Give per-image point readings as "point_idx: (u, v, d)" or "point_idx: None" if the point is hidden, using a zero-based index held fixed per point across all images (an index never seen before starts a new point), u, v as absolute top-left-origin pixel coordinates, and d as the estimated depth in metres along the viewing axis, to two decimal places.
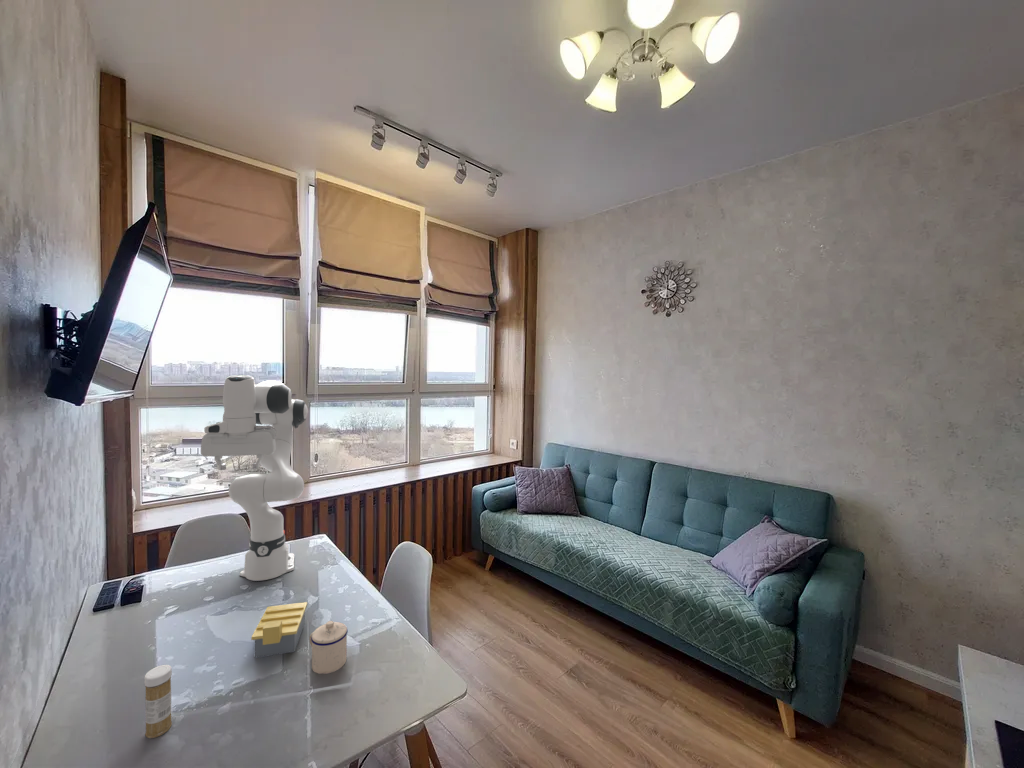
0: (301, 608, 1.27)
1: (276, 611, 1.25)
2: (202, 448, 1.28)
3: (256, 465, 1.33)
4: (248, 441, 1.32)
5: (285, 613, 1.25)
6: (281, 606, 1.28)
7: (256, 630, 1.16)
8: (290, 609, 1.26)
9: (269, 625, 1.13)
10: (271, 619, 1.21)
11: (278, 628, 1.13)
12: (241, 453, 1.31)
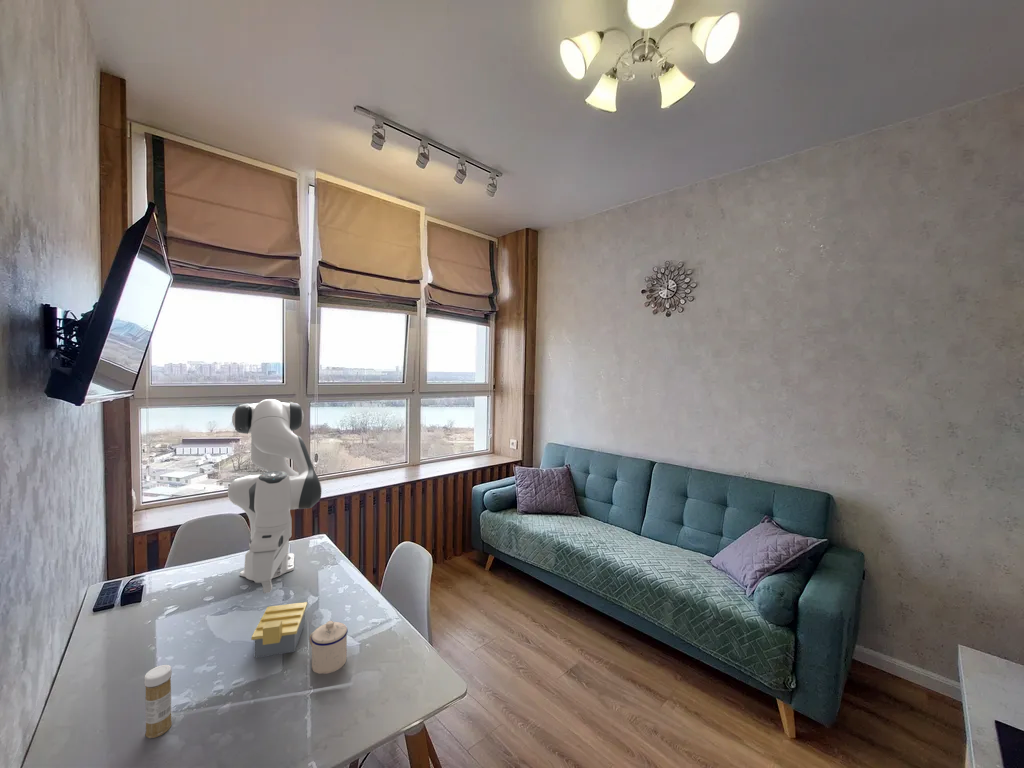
0: (301, 608, 1.27)
1: (276, 611, 1.25)
2: (271, 571, 1.05)
3: (281, 569, 1.18)
4: (282, 544, 1.16)
5: (285, 613, 1.25)
6: (281, 606, 1.28)
7: (256, 630, 1.16)
8: (290, 609, 1.26)
9: (269, 625, 1.13)
10: (271, 619, 1.21)
11: (278, 628, 1.13)
12: (281, 561, 1.14)
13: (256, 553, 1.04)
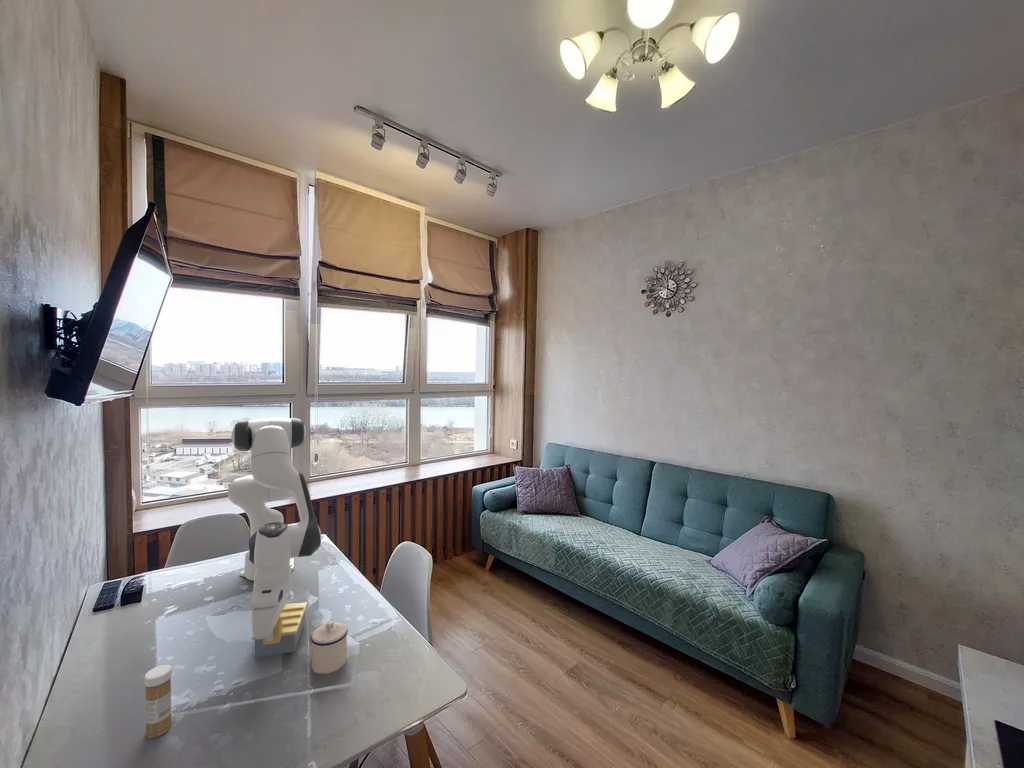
0: (301, 608, 1.27)
1: None
2: (271, 627, 1.05)
3: None
4: None
5: (285, 613, 1.25)
6: None
7: None
8: (290, 609, 1.26)
9: None
10: None
11: (278, 628, 1.13)
12: None
13: (256, 609, 1.05)
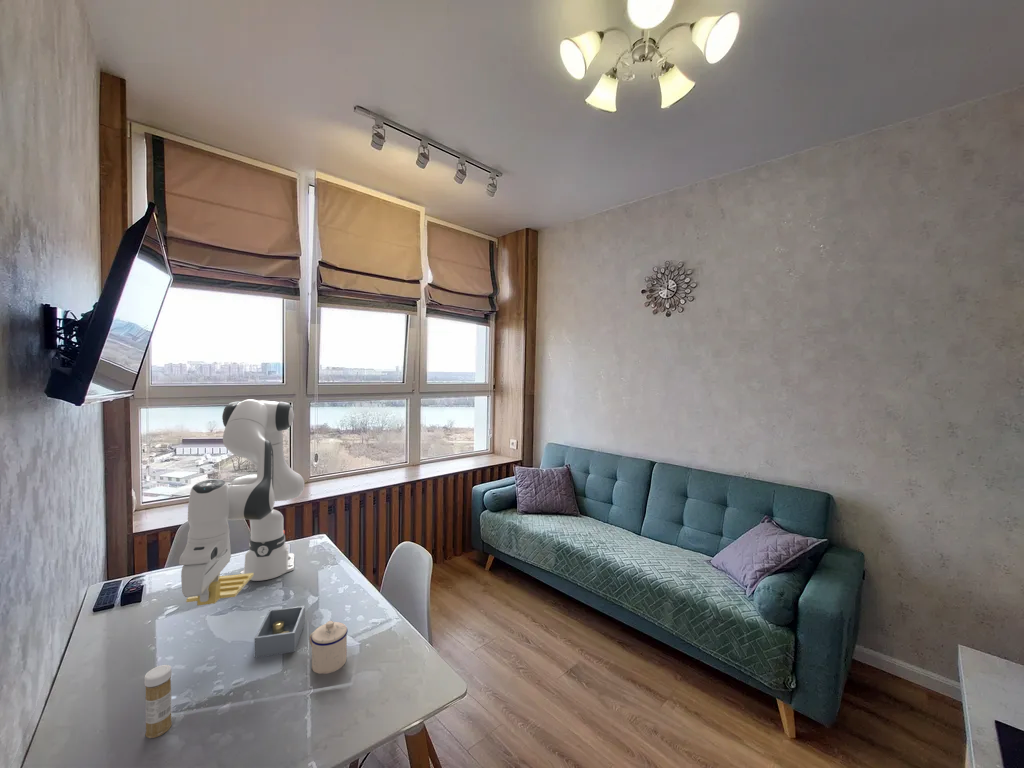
0: (245, 577, 1.23)
1: None
2: (202, 585, 1.01)
3: None
4: None
5: (228, 581, 1.20)
6: (225, 576, 1.24)
7: None
8: (233, 578, 1.22)
9: None
10: None
11: (214, 587, 1.08)
12: (218, 572, 1.10)
13: (186, 566, 1.00)
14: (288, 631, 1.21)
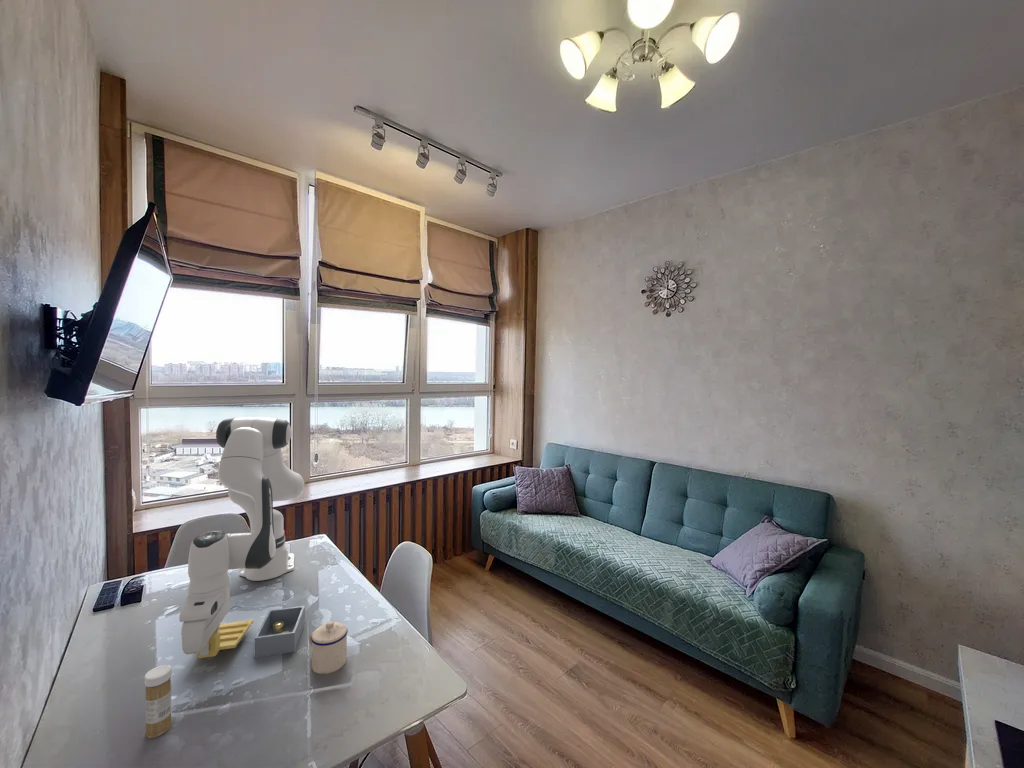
0: (245, 625, 1.23)
1: None
2: (202, 641, 1.01)
3: None
4: None
5: (228, 630, 1.20)
6: (225, 624, 1.24)
7: None
8: (233, 626, 1.22)
9: None
10: None
11: (214, 640, 1.09)
12: (218, 624, 1.11)
13: (186, 622, 1.01)
14: (288, 631, 1.21)
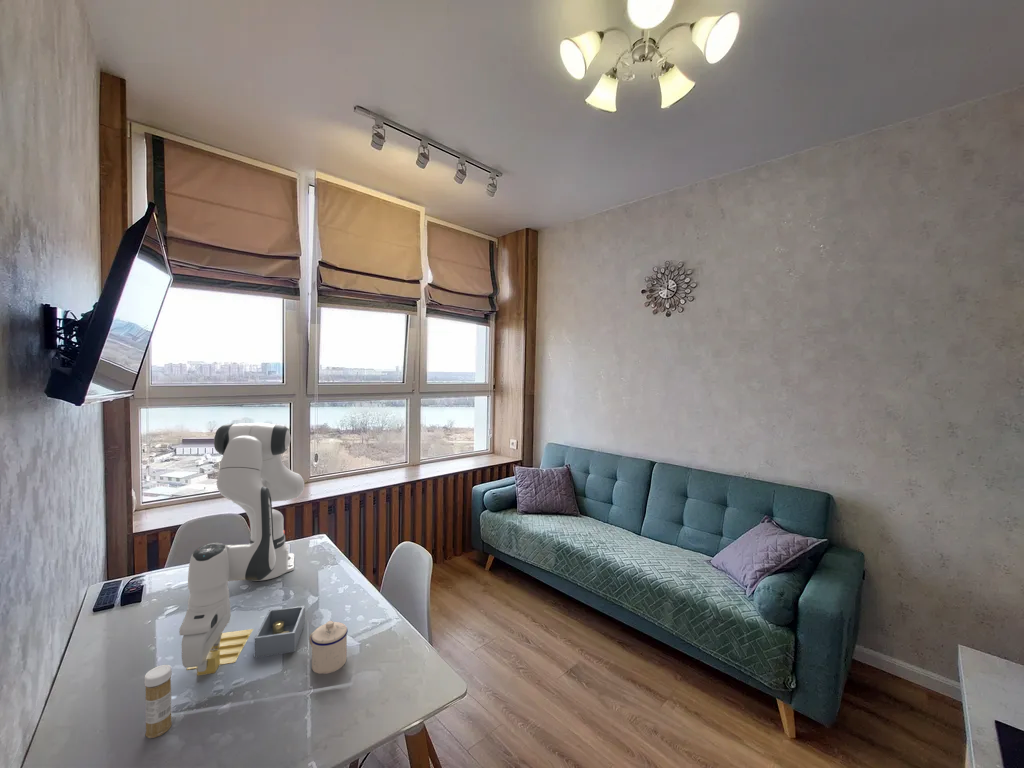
0: (245, 636, 1.23)
1: None
2: (202, 654, 1.01)
3: (219, 645, 1.14)
4: None
5: (228, 642, 1.21)
6: (225, 634, 1.24)
7: None
8: (233, 637, 1.22)
9: None
10: None
11: (214, 660, 1.08)
12: (218, 636, 1.11)
13: (186, 636, 1.01)
14: (288, 631, 1.21)
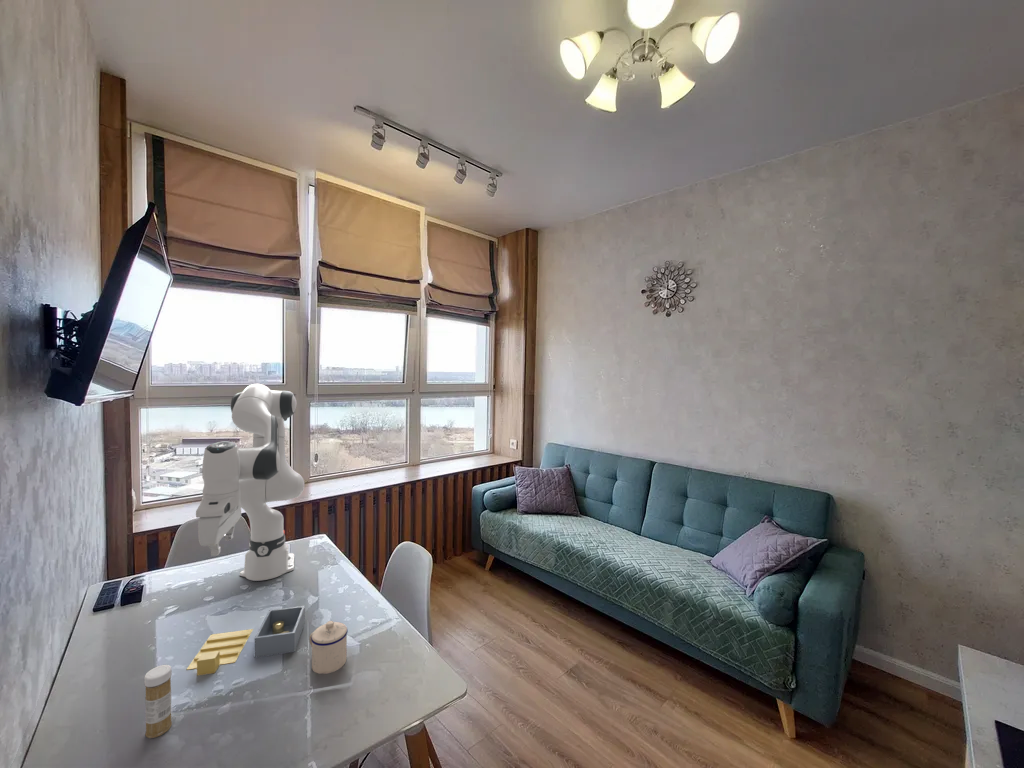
0: (245, 636, 1.23)
1: (218, 639, 1.21)
2: (217, 535, 1.10)
3: (232, 535, 1.24)
4: None
5: (228, 642, 1.21)
6: (225, 634, 1.24)
7: (193, 661, 1.12)
8: (233, 637, 1.22)
9: (204, 657, 1.09)
10: (211, 649, 1.17)
11: (214, 660, 1.08)
12: (230, 526, 1.20)
13: (202, 518, 1.10)
14: (288, 631, 1.21)
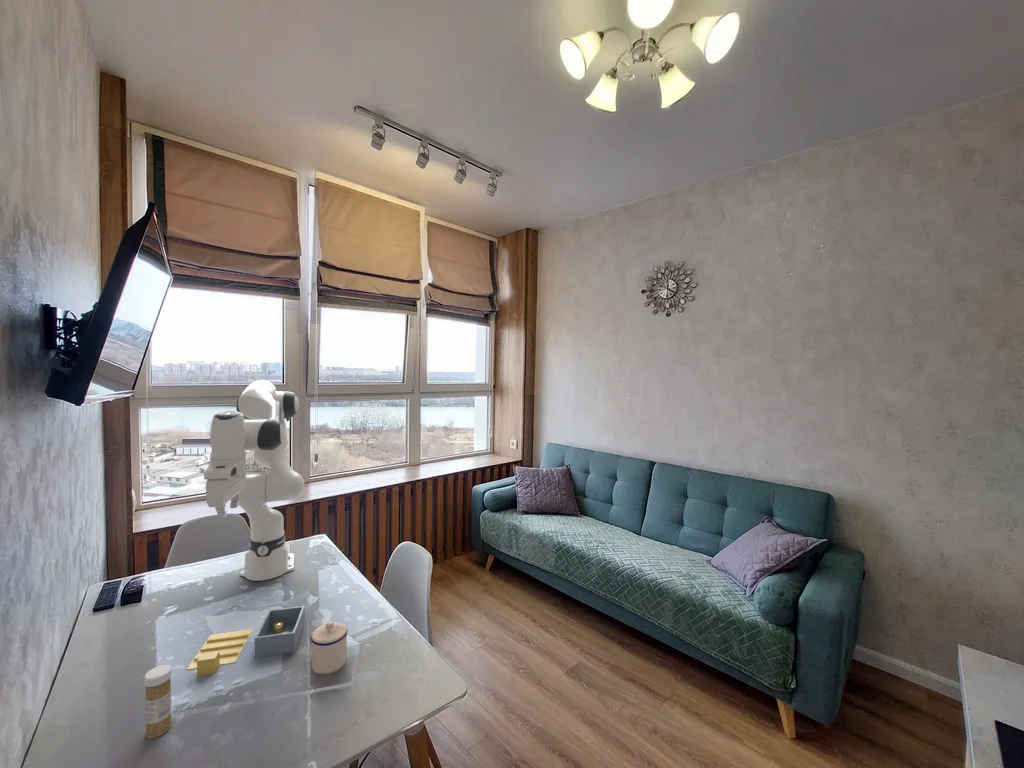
0: (245, 636, 1.23)
1: (218, 640, 1.21)
2: (223, 497, 1.15)
3: (237, 503, 1.29)
4: (237, 479, 1.27)
5: (228, 642, 1.21)
6: (225, 634, 1.24)
7: (193, 661, 1.12)
8: (233, 637, 1.22)
9: (204, 657, 1.09)
10: (211, 649, 1.17)
11: (214, 660, 1.08)
12: (236, 493, 1.25)
13: (210, 480, 1.15)
14: (288, 631, 1.21)
